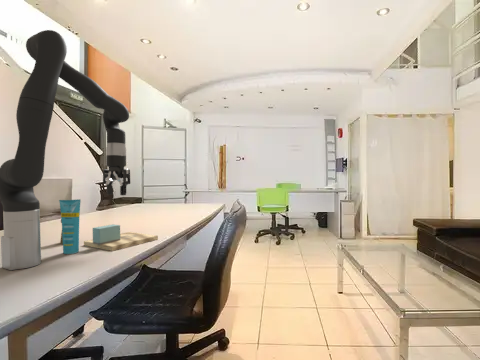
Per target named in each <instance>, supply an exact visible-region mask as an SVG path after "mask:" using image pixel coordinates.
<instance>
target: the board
mask: <svg viewBox="0 0 480 360" xmlns="http://www.w3.org/2000/svg"><path fill="white" fill-rule="evenodd" d="M158 237H159V236H158V235H154V234H149V233H142V232H133V231H127V232H122V233H120V240H119V241H114V242H110V243H105V244H101V245H99V244H93V239H89V240H84V241H83V246H85V247H92V248H95V249H101V250H106V251H112V252H113V251H117V250H121V249H125V248H130V247H134V246H138V245H141V244H145V243H147V242H148V243H149V242H152V241H156V240H158V239H159V238H158Z"/></svg>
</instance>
